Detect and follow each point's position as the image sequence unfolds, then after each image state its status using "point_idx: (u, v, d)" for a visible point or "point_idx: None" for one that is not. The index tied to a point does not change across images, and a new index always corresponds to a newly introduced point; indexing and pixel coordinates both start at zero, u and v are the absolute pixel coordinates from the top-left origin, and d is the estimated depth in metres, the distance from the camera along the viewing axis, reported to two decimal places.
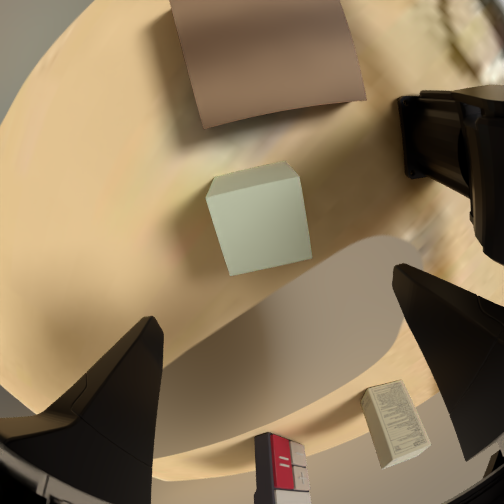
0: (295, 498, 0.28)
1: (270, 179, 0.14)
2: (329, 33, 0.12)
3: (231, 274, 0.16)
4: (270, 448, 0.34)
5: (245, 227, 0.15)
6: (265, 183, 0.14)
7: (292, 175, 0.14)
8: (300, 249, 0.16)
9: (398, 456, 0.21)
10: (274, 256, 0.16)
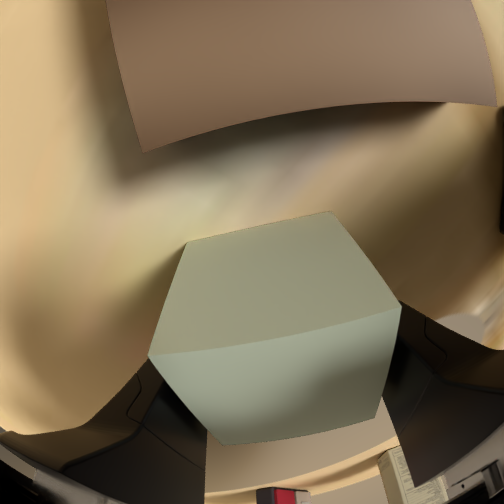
0: None
1: (320, 304, 0.05)
2: None
3: (224, 444, 0.07)
4: None
5: (251, 402, 0.06)
6: (310, 326, 0.05)
7: (378, 293, 0.05)
8: (357, 414, 0.07)
9: None
10: (307, 427, 0.07)
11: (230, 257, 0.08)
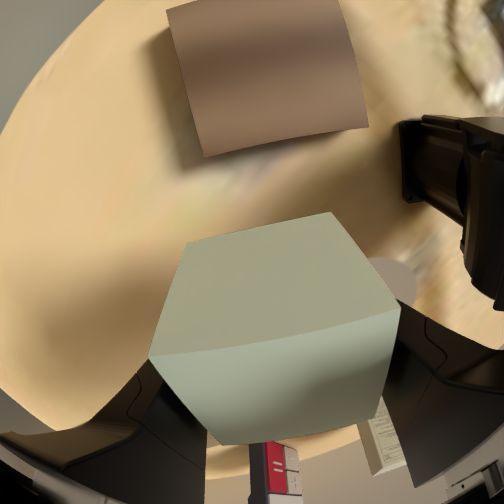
0: (288, 502, 0.29)
1: (320, 305, 0.05)
2: (332, 57, 0.12)
3: (224, 444, 0.07)
4: (264, 453, 0.35)
5: (250, 403, 0.06)
6: (309, 327, 0.05)
7: (377, 294, 0.05)
8: (357, 414, 0.07)
9: (388, 464, 0.22)
10: (307, 428, 0.07)
11: (230, 258, 0.08)
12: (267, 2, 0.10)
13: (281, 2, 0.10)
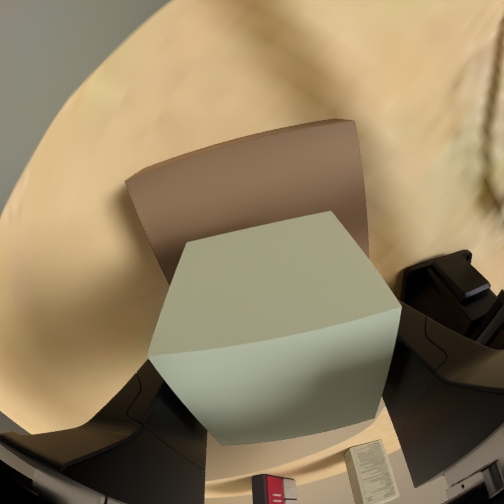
0: None
1: (320, 304, 0.05)
2: None
3: (224, 444, 0.07)
4: (265, 487, 0.35)
5: (250, 402, 0.06)
6: (309, 326, 0.05)
7: (378, 293, 0.05)
8: (357, 414, 0.07)
9: None
10: (307, 428, 0.07)
11: (230, 257, 0.08)
12: (260, 168, 0.11)
13: (280, 166, 0.11)
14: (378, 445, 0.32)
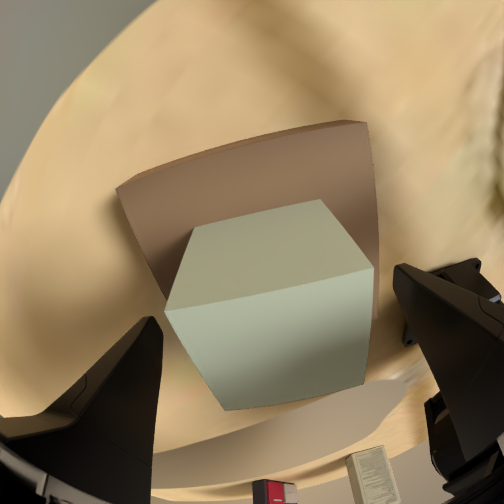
0: None
1: (307, 267, 0.06)
2: None
3: (227, 409, 0.09)
4: (266, 493, 0.34)
5: (250, 358, 0.07)
6: (297, 282, 0.06)
7: (354, 258, 0.06)
8: (347, 377, 0.08)
9: None
10: (302, 390, 0.08)
11: (232, 236, 0.09)
12: (263, 174, 0.10)
13: (285, 172, 0.10)
14: (380, 451, 0.31)
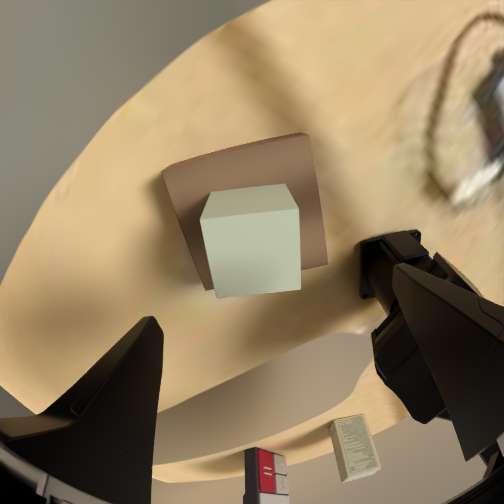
0: (276, 500, 0.36)
1: (268, 207, 0.14)
2: (302, 214, 0.19)
3: (218, 296, 0.16)
4: (256, 460, 0.42)
5: (237, 253, 0.15)
6: (263, 211, 0.14)
7: (291, 205, 0.14)
8: (289, 279, 0.16)
9: (352, 475, 0.29)
10: (263, 284, 0.16)
11: (233, 196, 0.16)
12: (248, 165, 0.17)
13: (260, 164, 0.17)
14: (360, 419, 0.39)
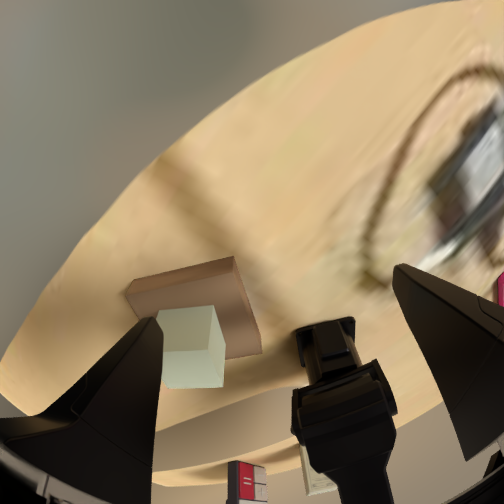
0: None
1: (189, 344, 0.19)
2: (234, 324, 0.24)
3: (168, 387, 0.21)
4: (237, 471, 0.47)
5: (173, 369, 0.19)
6: (184, 349, 0.18)
7: (204, 344, 0.19)
8: (213, 382, 0.20)
9: (313, 490, 0.34)
10: (195, 384, 0.20)
11: (172, 322, 0.21)
12: (187, 295, 0.22)
13: (196, 294, 0.22)
14: None
